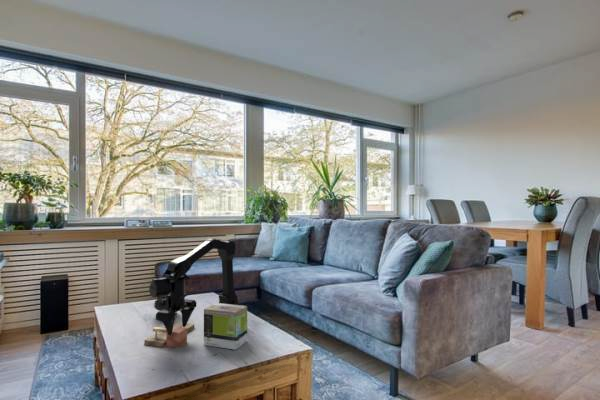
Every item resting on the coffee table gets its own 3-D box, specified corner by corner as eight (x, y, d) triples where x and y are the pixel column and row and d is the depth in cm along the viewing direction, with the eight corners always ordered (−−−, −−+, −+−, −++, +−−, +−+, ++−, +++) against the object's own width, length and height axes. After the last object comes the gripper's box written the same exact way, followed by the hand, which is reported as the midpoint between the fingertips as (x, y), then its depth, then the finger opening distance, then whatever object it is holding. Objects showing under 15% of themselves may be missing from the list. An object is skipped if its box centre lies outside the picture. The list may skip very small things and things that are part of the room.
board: (194, 328, 152) (194, 324, 152) (163, 347, 132) (163, 342, 132) (177, 326, 155) (177, 322, 155) (144, 344, 135) (144, 339, 135)
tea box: (248, 340, 139) (248, 305, 139) (235, 351, 130) (235, 312, 130) (216, 336, 144) (216, 301, 144) (202, 345, 134) (202, 308, 135)
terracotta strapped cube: (186, 342, 137) (187, 328, 137) (179, 348, 132) (179, 332, 132) (158, 338, 141) (158, 324, 141) (149, 343, 136) (149, 328, 136)
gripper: (175, 285, 147) (174, 320, 147) (144, 296, 129) (143, 337, 129) (197, 287, 143) (197, 323, 143) (168, 299, 126) (168, 340, 125)
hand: (177, 330), depth 135 cm, fingers open, 9 cm apart
